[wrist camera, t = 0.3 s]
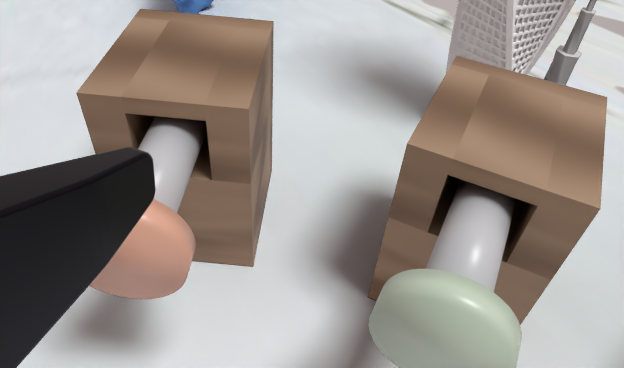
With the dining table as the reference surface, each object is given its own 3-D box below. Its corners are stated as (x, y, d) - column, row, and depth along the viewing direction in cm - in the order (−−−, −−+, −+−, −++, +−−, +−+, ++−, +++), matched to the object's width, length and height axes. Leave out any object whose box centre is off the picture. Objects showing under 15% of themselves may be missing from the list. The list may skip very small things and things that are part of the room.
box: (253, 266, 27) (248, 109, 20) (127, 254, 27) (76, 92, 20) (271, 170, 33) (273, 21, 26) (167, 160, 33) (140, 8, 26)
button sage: (487, 411, 16) (540, 343, 13) (359, 351, 18) (380, 275, 14) (522, 244, 22) (566, 168, 19) (424, 207, 23) (449, 130, 20)
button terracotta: (193, 304, 19) (178, 223, 15) (73, 292, 19) (33, 210, 15) (233, 163, 24) (228, 83, 21) (142, 154, 24) (124, 73, 21)
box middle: (499, 354, 24) (600, 208, 17) (367, 297, 26) (407, 143, 19) (523, 244, 29) (607, 97, 22) (412, 203, 31) (456, 55, 24)
